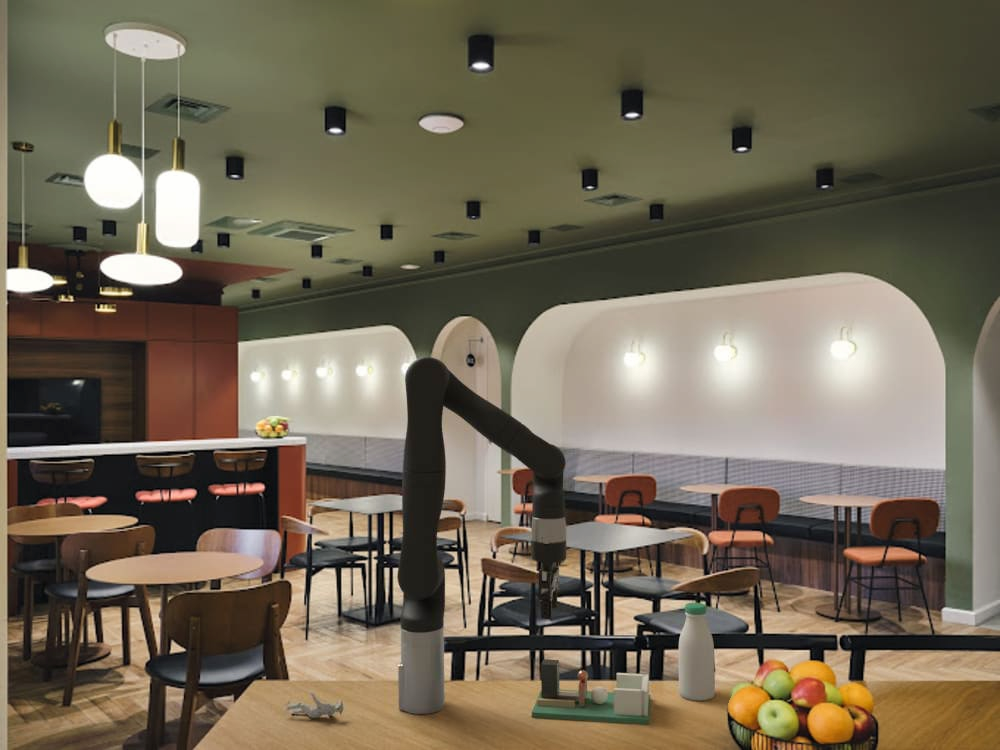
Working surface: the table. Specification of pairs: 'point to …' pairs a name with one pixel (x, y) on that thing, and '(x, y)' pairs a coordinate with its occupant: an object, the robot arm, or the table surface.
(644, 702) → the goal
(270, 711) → the table surface
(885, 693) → the table surface
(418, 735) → the table surface
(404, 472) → the robot arm
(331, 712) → the soldier figure
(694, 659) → the milk bottle
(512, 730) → the table surface
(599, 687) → the ball
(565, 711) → the pitch
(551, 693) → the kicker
